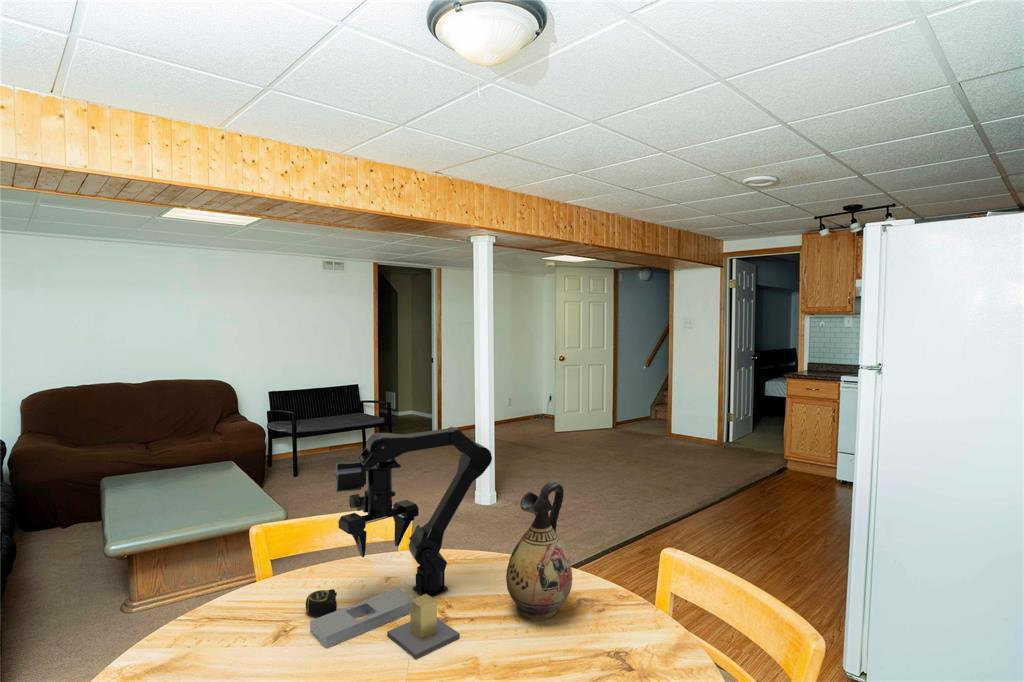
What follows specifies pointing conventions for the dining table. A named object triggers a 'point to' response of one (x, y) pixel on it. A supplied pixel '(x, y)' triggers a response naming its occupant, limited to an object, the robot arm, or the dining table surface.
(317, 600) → the tape measure
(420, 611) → the brass block
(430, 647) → the rubber mat
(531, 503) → the ceramic jug
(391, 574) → the dining table surface
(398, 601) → the metal plate
